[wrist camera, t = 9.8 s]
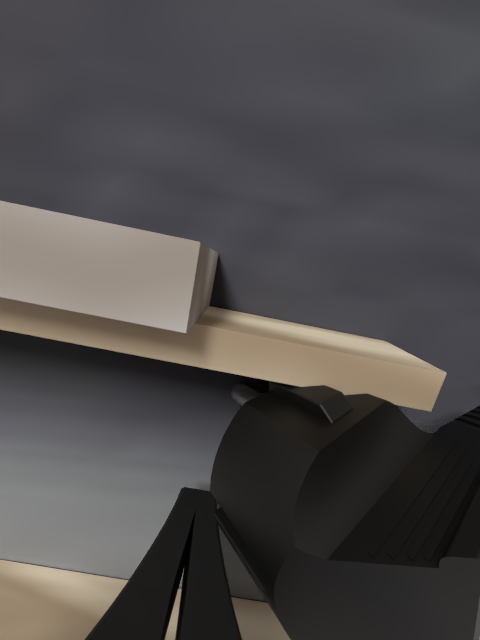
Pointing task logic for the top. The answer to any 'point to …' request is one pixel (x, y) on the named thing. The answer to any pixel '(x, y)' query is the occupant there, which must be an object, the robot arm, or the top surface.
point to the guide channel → (168, 345)
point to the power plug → (353, 514)
